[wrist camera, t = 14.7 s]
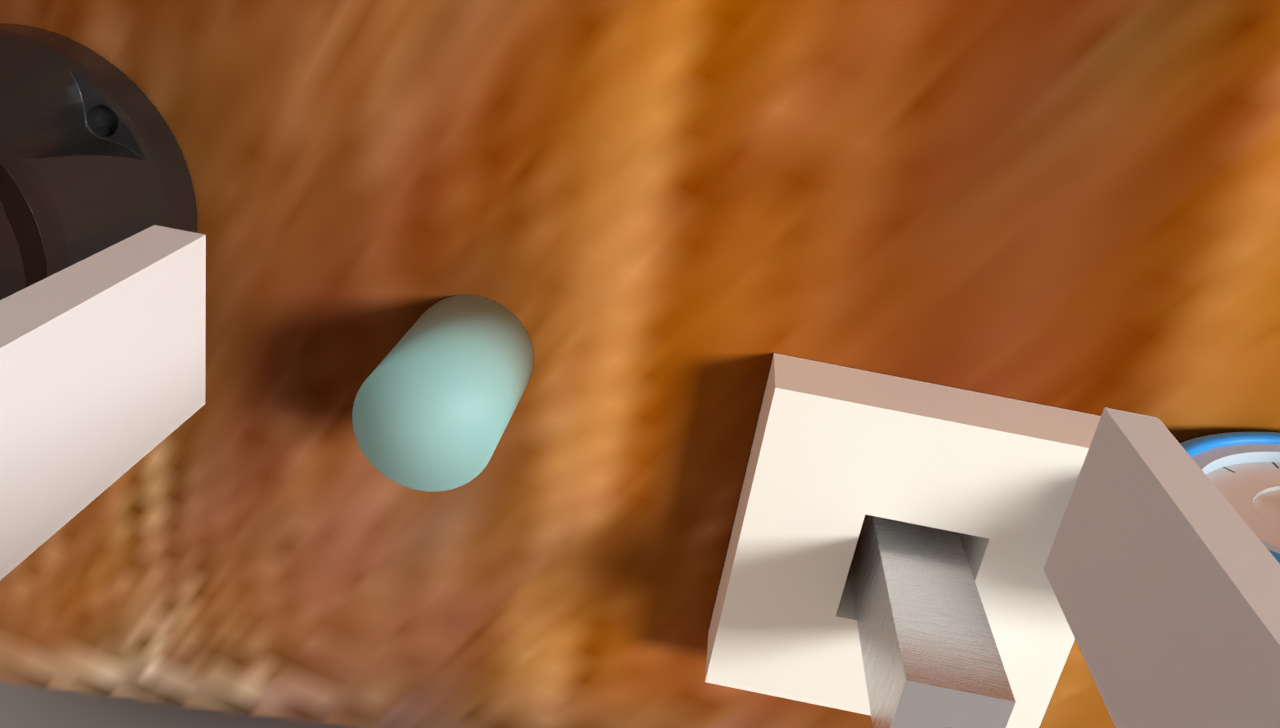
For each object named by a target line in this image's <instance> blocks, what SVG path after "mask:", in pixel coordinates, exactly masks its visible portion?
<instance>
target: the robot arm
mask: <svg viewBox="0 0 1280 728" xmlns="http://www.w3.org/2000/svg"><path fill="white" fill-rule="evenodd" d="M205 290H206V235H205V234H199V233H197V210H196V201H195V195H194V190H193V185H192V181H191V177H190V174H189V171H188V168H187V165H186V162H185V159H184V157H183V154H182V152H181V150H180V148H179V146H178V143H177V141H176V139H175V137H174V136H173V134H172V132H171V130H170V128H169V127H168V125H167V124H166V122H165V121H164V119H163V117H162V116H161V114H160V113H159V112H158V110H157V109H156V108H155V106H154V105H153V104H152V103H151V101H150V100H149V99H148V98H147V96H146V95H145V94H144V93H143V92H142V91H141V90H140V89H139V88H138V87H137V86H136V84H135V83H133V82H132V81H131V80H130V79H129V78H128V77H127V76H126V75H125V74H124V73H123V72H121V71H120V70H119V69H118V68H117V67H115V66H114V65H113V64H111V63H110V62H109V61H107V60H106V59H105V58H103V57H102V56H100V55H99V54H97V53H95V52H94V51H92V50H91V49H89V48H87V47H85V46H83V45H81V44H80V43H78V42H75V41H73V40H71V39H69V38H67V37H64V36H61V35H59V34H56V33H53V32H50V31H47V30H43V29H39V28H35V27H30V26H24V25H16V24H0V580H1V579H2V578H3V577H5V576H6V575H7V574H8V573H9V572H10V571H12V570H13V569H14V568H15V567H16V566H17V565H19V564H20V563H21V562H22V561H23V560H24V559H26V558H27V557H28V556H29V555H30V554H31V553H33V552H34V551H35V550H36V549H37V548H38V547H40V546H41V545H42V544H43V543H44V542H45V541H46V540H48V539H49V538H50V537H51V536H52V535H53V534H55V533H56V532H57V531H58V530H59V529H60V528H62V527H63V526H64V525H65V524H66V523H67V522H69V521H70V520H71V519H72V518H73V517H74V516H76V515H77V514H78V513H79V512H80V511H81V510H83V509H84V508H85V507H86V506H87V505H88V504H90V503H91V502H92V501H93V500H94V499H95V498H96V497H98V496H99V495H100V494H101V493H102V492H103V491H105V490H106V489H107V488H108V487H109V486H110V485H112V484H113V483H114V482H115V481H116V480H117V479H119V478H120V477H121V476H122V475H123V474H124V473H126V472H127V471H128V470H129V469H130V468H131V467H133V466H134V465H135V464H136V463H137V462H138V461H140V460H141V459H142V458H143V457H144V456H145V455H146V454H148V453H149V452H150V451H151V450H152V449H153V448H155V447H156V446H157V445H158V444H159V443H160V442H162V441H163V440H164V439H165V438H166V437H167V436H169V435H170V434H171V433H172V432H173V431H174V430H176V429H177V428H178V427H179V426H180V425H181V424H183V423H184V422H185V421H186V420H187V419H188V418H189V417H191V416H192V415H193V414H194V413H195V412H196V411H198V410H199V409H200V408H201V407H202V406H203V405H205ZM1044 571H1045V574H1046V576H1047V578H1048V580H1049V582H1050V585H1051V587H1052V589H1053V591H1054V593H1055V596H1056V598H1057V600H1058V602H1059V604H1060V607H1061V609H1062V611H1063V613H1064V615H1065V618H1066V620H1067V622H1068V624H1069V626H1070V629H1071V631H1072V633H1073V635H1074V637H1075V640H1076V642H1077V644H1078V646H1079V649H1080V651H1081V653H1082V655H1083V657H1084V660H1085V662H1086V664H1087V666H1088V668H1089V671H1090V673H1091V675H1092V677H1093V679H1094V682H1095V684H1096V686H1097V688H1098V690H1099V693H1100V695H1101V697H1102V699H1103V701H1104V704H1105V706H1106V708H1107V710H1108V712H1109V715H1110V717H1111V719H1112V721H1113V723H1114V726H1115V728H1280V563H1279V562H1278V561H1277V560H1276V559H1275V557H1274V556H1273V555H1272V554H1271V553H1270V551H1269V550H1268V549H1267V548H1266V547H1265V545H1264V544H1263V543H1262V542H1261V541H1260V539H1259V538H1258V537H1257V536H1256V535H1255V533H1254V532H1253V531H1252V530H1251V529H1250V527H1249V526H1248V525H1247V524H1246V523H1245V521H1244V520H1243V519H1242V518H1241V517H1240V515H1239V514H1238V513H1237V512H1236V511H1235V509H1234V508H1233V507H1232V506H1231V505H1230V503H1229V502H1228V501H1227V500H1226V498H1225V497H1224V496H1223V495H1222V494H1221V492H1220V491H1219V490H1218V489H1217V488H1216V486H1215V485H1214V484H1213V483H1212V482H1211V480H1210V479H1209V478H1208V477H1207V476H1206V474H1205V473H1204V472H1203V471H1202V470H1201V468H1200V467H1199V466H1198V465H1197V464H1196V462H1195V461H1194V460H1193V459H1192V458H1191V456H1190V455H1189V454H1188V453H1187V452H1186V450H1185V449H1184V448H1183V447H1182V446H1181V444H1180V443H1179V442H1178V441H1177V440H1176V438H1175V437H1174V436H1173V435H1172V434H1171V432H1170V431H1169V430H1168V429H1167V428H1166V426H1165V425H1164V424H1163V423H1162V421H1161V420H1160V419H1159V418H1157V417H1152V416H1146V415H1141V414H1136V413H1131V412H1126V411H1120V410H1115V409H1110V408H1104V410H1103V413H1102V416H1101V418H1100V421H1099V424H1098V426H1097V429H1096V432H1095V434H1094V437H1093V439H1092V442H1091V445H1090V447H1089V450H1088V453H1087V455H1086V458H1085V461H1084V463H1083V466H1082V469H1081V471H1080V474H1079V476H1078V479H1077V482H1076V484H1075V487H1074V490H1073V492H1072V495H1071V498H1070V500H1069V503H1068V506H1067V508H1066V511H1065V513H1064V516H1063V519H1062V521H1061V524H1060V527H1059V529H1058V532H1057V535H1056V537H1055V540H1054V543H1053V545H1052V548H1051V550H1050V553H1049V556H1048V558H1047V561H1046V564H1045V566H1044Z"/></svg>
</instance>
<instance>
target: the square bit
mask: <svg viewBox="0 0 1280 728" xmlns="http://www.w3.org/2000/svg"><path fill="white" fill-rule="evenodd" d="M849 571H850V578H851V584H852V591H853V598H854V604H855V611H856V618H857V625H858V631H859V638H860V645H861V652H862V658H863V665H864V672H865V679H866V685H867V692H868V699H869V705H870V712H871V719H872V726H873V728H1006V726H1007V723H1008V721H1009V718H1010V716H1011V713H1012V710H1013V708H1014V705H1015V703H1016V701H1015V698H1014V695H1013V693H1012V690H1011V687H1010V684H1009V681H1008V678H1007V675H1006V672H1005V669H1004V666H1003V663H1002V660H1001V657H1000V654H999V651H998V648H997V645H996V642H995V639H994V636H993V634H992V631H991V628H990V625H989V622H988V619H987V616H986V613H985V610H984V607H983V604H982V601H981V598H980V595H979V592H978V589H977V586H976V583H975V580H974V577H973V575H972V572H971V569H970V566H969V563H968V560H967V557H966V554H965V551H964V548H963V545H962V542H961V539H960V536H959V533H958V532H952V531H947V530H942V529H937V528H932V527H927V526H922V525H917V524H912V523H907V522H902V521H896V520H891V519H886V518H881V517H876V516H871V515H866V514H865V517H864V521H863V524H862V528H861V531H860V534H859V538H858V541H857V545H856V548H855V552H854V555H853V559H852V562H851V565H850V569H849Z"/></svg>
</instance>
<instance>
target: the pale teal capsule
mask: <svg viewBox="0 0 1280 728" xmlns="http://www.w3.org/2000/svg"><path fill="white" fill-rule="evenodd" d="M533 366H534V351H533V346H532V342H531V340H530V337H529V335H528V333H527V331H526V329H525V327H524V326H523V324H522V323H521V321H520V320H519V319H518V318H517V317H516V316H515V315H514V314H513V313H512V312H511V311H510V310H508V309H507V308H506V307H504V306H503V305H501V304H499V303H497V302H495V301H493V300H491V299H488V298H485V297H481V296H475V295H457V296H452V297H448V298H445V299H443V300H440V301H438V302H437V303H435V304H433V305H432V306H431V307H429V308H428V309H427V310H426V311H425V312H424V313H423V314H422V315H421V317H420V318H419V319H418V320H417V321H416V322H415V324H414V325H413V326H412V327H411V328H410V329H409V330H408V332H407V333H406V334H405V335H404V336H403V337H402V339H401V340H400V341H399V342H398V343H397V344H396V346H395V347H394V348H393V349H392V350H391V351H390V352H389V354H388V355H387V356H386V357H385V358H384V359H383V361H382V362H381V363H380V364H379V365H378V366H377V367H376V369H375V370H374V371H373V372H372V373H371V374H370V376H369V377H368V378H367V379H366V380H365V381H364V383H363V384H362V386H361V387H360V389H359V391H358V393H357V395H356V397H355V401H354V404H353V411H352V423H353V429H354V433H355V437H356V440H357V442H358V444H359V446H360V448H361V450H362V452H363V453H364V455H365V456H366V458H367V459H368V460H369V462H370V463H371V464H372V465H373V466H374V467H375V468H376V469H377V470H378V471H380V472H381V473H382V474H383V475H385V476H386V477H388V478H389V479H391V480H392V481H394V482H396V483H398V484H400V485H403V486H406V487H408V488H412V489H416V490H421V491H446V490H450V489H454V488H457V487H460V486H462V485H464V484H466V483H468V482H470V481H471V480H472V479H474V478H475V477H476V476H477V475H479V474H480V473H481V472H482V470H483V469H484V468H485V467H486V465H487V464H488V462H489V460H490V458H491V456H492V454H493V452H494V450H495V448H496V446H497V444H498V442H499V440H500V438H501V436H502V434H503V432H504V430H505V428H506V426H507V424H508V422H509V420H510V418H511V416H512V414H513V412H514V410H515V408H516V406H517V404H518V402H519V400H520V398H521V396H522V394H523V392H524V390H525V388H526V386H527V384H528V382H529V380H530V378H531V375H532V371H533Z"/></svg>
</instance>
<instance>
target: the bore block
mask: <svg viewBox="0 0 1280 728" xmlns="http://www.w3.org/2000/svg"><path fill="white" fill-rule="evenodd" d="M1100 418H1101V416H1098V415H1093V414H1088V413H1083V412H1077V411H1072V410H1067V409H1062V408H1057V407H1052V406H1046V405H1041V404H1036V403H1031V402H1026V401H1020V400H1015V399H1010V398H1005V397H1000V396H994V395H989V394H984V393H979V392H974V391H968V390H963V389H958V388H953V387H948V386H942V385H937V384H932V383H927V382H922V381H916V380H911V379H906V378H901V377H896V376H890V375H885V374H880V373H875V372H870V371H864V370H859V369H854V368H849V367H844V366H838V365H833V364H828V363H823V362H818V361H812V360H807V359H802V358H797V357H792V356H786V355H781V354H776V353H774V355H773V359H772V363H771V367H770V372H769V376H768V380H767V384H766V389H765V393H764V397H763V401H762V406H761V410H760V414H759V418H758V423H757V427H756V431H755V436H754V440H753V444H752V448H751V453H750V457H749V461H748V465H747V470H746V474H745V478H744V482H743V487H742V491H741V495H740V499H739V504H738V508H737V512H736V516H735V521H734V525H733V529H732V534H731V538H730V542H729V546H728V551H727V555H726V559H725V563H724V568H723V572H722V576H721V580H720V585H719V589H718V593H717V597H716V602H715V606H714V610H713V614H712V619H711V623H710V627H709V632H708V646H707V662H706V677H705V682H708V683H713V684H718V685H723V686H727V687H732V688H737V689H742V690H747V691H752V692H757V693H762V694H767V695H772V696H777V697H782V698H787V699H792V700H797V701H802V702H807V703H812V704H817V705H822V706H827V707H831V708H836V709H841V710H846V711H851V712H856V713H861V714H866V715H871V712H870V705H869V699H868V692H867V685H866V679H865V672H864V665H863V658H862V652H861V645H860V638H859V631H858V625H857V618H856V611H855V604H854V598H853V591H852V584H851V578H850V572H849V569H850V565H851V562H852V559H853V555H854V552H855V548H856V545H857V541H858V538H859V534H860V531H861V528H862V524H863V521H864V517H865V514H866V515H871V516H876V517H881V518H886V519H891V520H896V521H902V522H907V523H912V524H917V525H922V526H927V527H932V528H937V529H942V530H947V531H952V532H958V533H960V534H959V536H960V539H961V542H962V545H963V548H964V551H965V554H966V557H967V560H968V563H969V566H970V569H971V572H972V575H973V577H974V580H975V583H976V586H977V589H978V592H979V595H980V598H981V601H982V604H983V607H984V610H985V613H986V616H987V619H988V622H989V625H990V628H991V631H992V634H993V636H994V639H995V642H996V645H997V648H998V651H999V654H1000V657H1001V660H1002V663H1003V666H1004V669H1005V672H1006V675H1007V678H1008V681H1009V684H1010V687H1011V690H1012V693H1013V695H1014V698H1015V701H1016V703H1015V705H1014V708H1013V710H1012V713H1011V716H1010V718H1009V721H1008V723H1007V726H1006V728H1039V726H1040V724H1041V721H1042V719H1043V716H1044V714H1045V711H1046V709H1047V706H1048V704H1049V701H1050V699H1051V697H1052V694H1053V692H1054V689H1055V687H1056V684H1057V682H1058V679H1059V677H1060V674H1061V672H1062V669H1063V667H1064V664H1065V662H1066V660H1067V657H1068V655H1069V652H1070V650H1071V647H1072V645H1073V642H1074V640H1075V637H1074V635H1073V633H1072V631H1071V629H1070V626H1069V624H1068V622H1067V620H1066V618H1065V615H1064V613H1063V611H1062V609H1061V607H1060V604H1059V602H1058V600H1057V598H1056V596H1055V593H1054V591H1053V589H1052V587H1051V585H1050V582H1049V580H1048V578H1047V576H1046V574H1045V571H1044V566H1045V564H1046V561H1047V558H1048V556H1049V553H1050V550H1051V548H1052V545H1053V543H1054V540H1055V537H1056V535H1057V532H1058V529H1059V527H1060V524H1061V521H1062V519H1063V516H1064V513H1065V511H1066V508H1067V506H1068V503H1069V500H1070V498H1071V495H1072V492H1073V490H1074V487H1075V484H1076V482H1077V479H1078V476H1079V474H1080V471H1081V469H1082V466H1083V463H1084V461H1085V458H1086V455H1087V453H1088V450H1089V447H1090V445H1091V442H1092V439H1093V437H1094V434H1095V432H1096V429H1097V426H1098V424H1099V421H1100Z"/></svg>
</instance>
